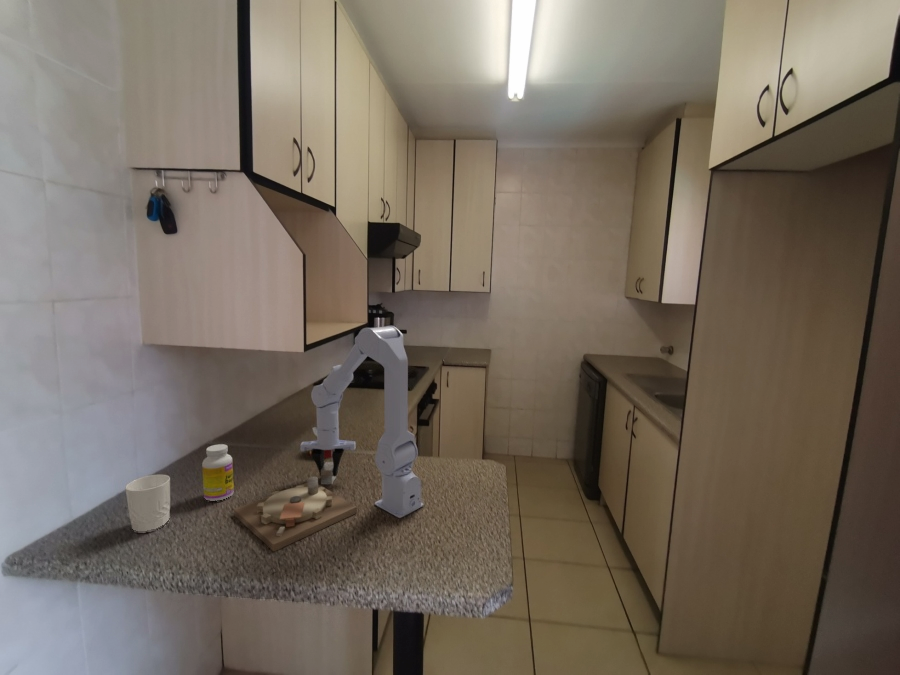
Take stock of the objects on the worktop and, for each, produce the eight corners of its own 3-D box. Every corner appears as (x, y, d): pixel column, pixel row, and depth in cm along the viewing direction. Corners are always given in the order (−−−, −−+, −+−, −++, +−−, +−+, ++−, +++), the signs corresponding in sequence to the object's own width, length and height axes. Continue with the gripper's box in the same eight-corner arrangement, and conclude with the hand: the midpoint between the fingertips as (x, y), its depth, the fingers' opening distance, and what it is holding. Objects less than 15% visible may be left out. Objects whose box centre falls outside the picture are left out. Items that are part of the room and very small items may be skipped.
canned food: (320, 461, 138) (326, 431, 142) (345, 462, 135) (350, 431, 138) (297, 457, 129) (304, 424, 132) (323, 458, 125) (330, 425, 129)
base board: (356, 512, 98) (356, 504, 97) (273, 551, 83) (273, 541, 82) (312, 485, 111) (312, 478, 111) (234, 515, 96) (233, 506, 96)
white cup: (179, 514, 96) (176, 473, 95) (161, 533, 88) (158, 489, 87) (141, 517, 95) (138, 475, 94) (120, 537, 87) (116, 492, 86)
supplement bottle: (228, 502, 102) (226, 451, 100) (199, 504, 101) (196, 453, 99) (237, 489, 108) (235, 442, 107) (210, 491, 107) (207, 443, 106)
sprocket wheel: (329, 522, 90) (329, 500, 90) (248, 530, 87) (247, 508, 86) (334, 487, 106) (333, 469, 106) (265, 493, 103) (265, 474, 102)
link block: (325, 475, 117) (325, 461, 117) (336, 475, 117) (336, 461, 117) (321, 484, 112) (320, 470, 111) (332, 484, 112) (331, 470, 111)
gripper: (357, 422, 117) (357, 468, 119) (305, 422, 116) (306, 469, 118) (352, 430, 110) (353, 479, 112) (297, 431, 109) (298, 480, 111)
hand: (328, 474), depth 114 cm, fingers closed on link block, 3 cm apart
